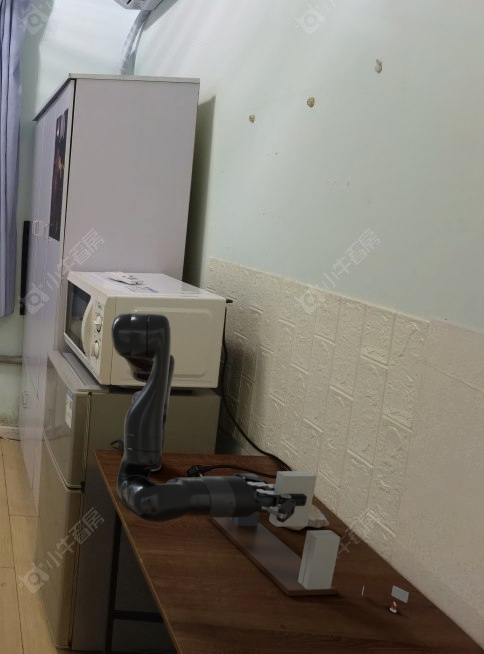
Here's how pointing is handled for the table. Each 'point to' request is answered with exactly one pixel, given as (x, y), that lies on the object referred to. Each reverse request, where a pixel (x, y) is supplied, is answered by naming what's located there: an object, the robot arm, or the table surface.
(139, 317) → the robot arm
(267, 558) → the shelf board
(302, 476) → the white rectangular block
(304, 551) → the cream books
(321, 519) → the stone
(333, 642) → the table surface
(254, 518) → the grey books
